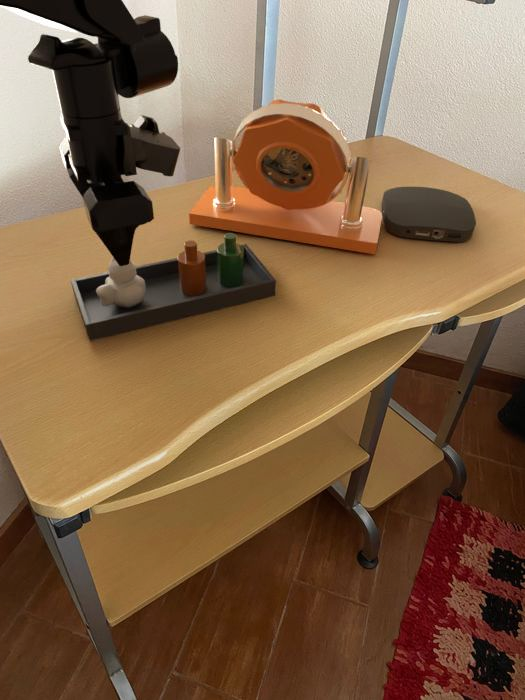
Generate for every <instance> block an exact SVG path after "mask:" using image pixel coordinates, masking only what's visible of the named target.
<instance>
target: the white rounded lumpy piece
mask: <svg viewBox="0 0 525 700" xmlns="http://www.w3.org/2000/svg"><path fill="white" fill-rule="evenodd" d="M137 266H138V265H137V264H136V263H134V262H132V261H131V260H130V261H129V264H128V265H125V266H119V264H118V263H117V262H116V260H115V259H114V257H113V256H112V258H111V260H110V262H109V264H108V272H109V277H108V278H106V280H105V285H102V286H100V287H98V288H97V289H96V292H97V295H98V296H99V297H100V299H101V304H102V305H103V306H110V305H112V304H115V305H117V306H120V307H125V308H130V307H133V306H135V305H137V304H139V303H140V302H141V301H142V300H143V298H144V295H145V291H146V285H145V280H144V279H143V278H141V277H140V276H138V275H136V269H137Z"/></svg>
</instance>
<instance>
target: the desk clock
mask: <svg viewBox="0 0 525 700" xmlns="http://www.w3.org/2000/svg"><path fill="white" fill-rule="evenodd" d="M242 131H243V132H242ZM241 133H242V136H241V138H240V143H239V145H238V139H239V136H240V134H241ZM213 140H214V143H213V144H214V145H213V146H214V147H213V148H214V180H215V181H214V184H215V185H212V186H210V187H208V188H207V189H206V191H204V193H203V194H202V196H201V197H200V198H199V199H198V201H197V202H196V203H195V205H194V206H193V207H192V209H191V210H190V211H189V212H188V220H189V225H193V226H201V227H204V228H212V229H218V230H224V231H229V232H236V233H242V234H249V235H254V236H261V237H265V238H266V237H267V238H273V239H278V240H285V241H291V242H298V243H303V244H308V245H315V246H320V247H321V246H322V247H328V248H333V249H341V250H345V251H346V250H347V251H351V252H359V253H364V254H371V255H376V251H377V246H378V241H379V236H380V232H381V231H380V230H381V224H382V221H383V216H382V211H380V210H378V209H375V208H373V207H369V206H366V205H364V200H365V196H366V191H367V185H368V178H369V173H370V167H371V162H372V160H371V159H370V158H367V157H362V156H352V155H351V148H350V147H349V144H348V141H347V140H348V139H347V138H346V137H345V134H344V131H343V130H342V129H341V128H339V126H337V125H336V124H335V123H334V122H333V120H331V119H330V118H329V116H328V115H327V114H326V113H325V111H323V109H322V108H321V106H319V105H317V104H315V103H314V102H313V103H312V102H311V103H308V102H307V103H303V102H296V101H295V102H294V101H288V100H283V99H280V98H279V99H275V100H274V99H273V100H271V102H270V103H269V104H268V105H265V106H261V107H259V108H258V109H256V110H252V111H251V113H249V114H248V115H247V116H246V117H244V118H243V120H242V121H241V122H240V124H239V125H238V127H237V130H236V131H235V135H234V139H233V141H232V140H229V139H226V138H222V137H214V138H213ZM233 169H234V172H235V174H236V176H237V178H238V179H239V180H240V182H241V184H242V185H243V186H244V187H241V186H236V185H235V186H234V185H233ZM347 180H348V182H347ZM346 183H347V189H346V195H345V201H344V202H341V201H335V200H334V199H336V198H337V197H338V196H339V194H341V193H342V191H343V189H344V187H345V185H346Z"/></svg>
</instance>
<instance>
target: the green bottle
mask: <svg viewBox="0 0 525 700" xmlns="http://www.w3.org/2000/svg"><path fill="white" fill-rule="evenodd" d="M241 245H242V244H240V243H237V235H236V234H235V233H234V232H227V233H225V234H224V235H223V243H220V244H219V245H218V246H217V248H216V250H217V274H218V282H219V283H220V284H221V285H223V286H226V287H236V286H238V285H240V284H241V283H242V282H243V264H244V248H243V247H242V246H241Z"/></svg>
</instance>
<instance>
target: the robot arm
mask: <svg viewBox="0 0 525 700" xmlns="http://www.w3.org/2000/svg"><path fill="white" fill-rule="evenodd" d="M0 8H4V9H6V10H8V11H10V12H13V13H14V14H16V15H17V16H18V15H19V16H21V17H23V18H27V19H28V20H31V21H33V22H36V23H39V24H42V25H44V26H48V27H51V28H55V29H59V30H63V31H69V32H72V33H77V34H81V35H86V36H88V37H94V38H97V43H93V42H92V41H90V40H89V39H87V38H84V37H74V38H70V39H65V40H61V39H60V38H59V37H58V36H55V35H50V34H47V33H41V34H40V36H39V40H38V41H37V44H36V45H35V46H34V47H33V48H32V50H31V51H30V53H29V55H28V56H27V62H28V63H29V64H31V65H33V66H38V67H40V68H45V69H48V70H50V71H52V75H53V79H54V85H55V87H56V94H57V98H58V99H57V100H58V103H59V107H60V108H59V109H60V114H59V118H60V122H61V126H62V128H63V130H64V132H65V137H64V138H63V140H62V141H61V142H60V144H59V146H58V147H59V150H60V151H59V152H60V154H61V159H62V163H63V164H64V168H65V169H66V172H67V175H68V177H69V179H70V180H71V182H72V183H73V185H74V187H75V188H76V189H77V191H78V193H79V194H80V196H81V198H82V203H83V207H84V211H85V214H86V218H87V221H88V222H89V225H90V227H91V229H92V231H93V232H94V233H95V234H96V235H97V237H98V238H99V240H100V241H101V242H102V244H103V245H104V246H105V248H106V249H107V250H108V252H109V253H110V255H111V256H112V258H113V257H114V259H115V260H116V262H117V263H118V264H119V266H125V265H128V264H129V261H131V255H132V249H133V243H134V237H135V233H136V229H138V227H140V226H142V225H146V224H148V223H151V222H152V221H153V220H154V219H155V215H154V205H153V201H152V199H151V198H150V196H149V195H148V193H147V191H146V190H145V188H144V187H143V186H142V185H140V184H139V183H137V182H136V181H134V180H130V181H129V180H128V181H125V180H124V179H123V177H122V176H125V177H131V176H137V175H138V172H137V169H140V170H144V171H149V172H153V173H159V174H162V175H163V176H164V177H173V176H174V175H175V170H176V167H177V164H178V159H179V155H180V152H181V147H180V146H179V144H177V142H176V141H175V140H174V138H172V137H171V136H170V135H168V134H166V133H165V132H164V131H160V129H159V125H158V122H157V121H156V120H155V118H153V117H151V116H147V115H144V114H140V116H139V117H138V118H137V120H135V122H134V123H130V125H129V124H128V123H127V122H125V120H124V119H123V116H122V112H121V107H120V98H119V96H121V97H122V98H123V99H124V98H125V99H132V98H135V97H138V96H141V95H144V94H148V93H151V92H154V91H156V90H157V91H158V90H160V89H162V88H166V87H168V86H170V85H172V84H173V83H174V82H175V81H176V78H177V76H178V73H179V58H178V55H177V54H176V52H175V48H174V47H173V44H172V42H171V41H170V39H169V38H168V36H167V35H166V34H165V33H164V32H163V31H162V28H161V19H160V18H159V17H156V16H155V17H154V16H151V15H146V14H145V15H139V16H136V17H135V18H134V16H133V15H132V14H131V12H130V10H129V9H128V8H127V6H126V5H125V3H124V1H123V0H0Z"/></svg>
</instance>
